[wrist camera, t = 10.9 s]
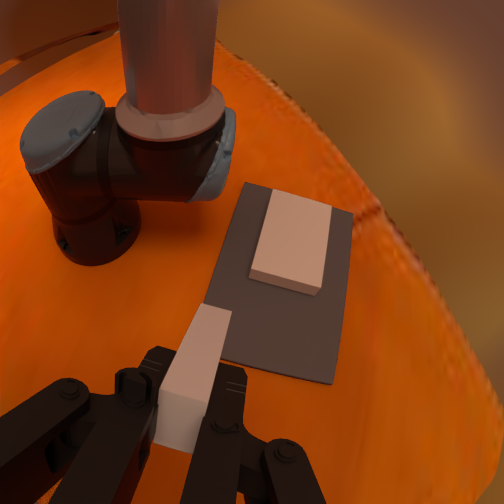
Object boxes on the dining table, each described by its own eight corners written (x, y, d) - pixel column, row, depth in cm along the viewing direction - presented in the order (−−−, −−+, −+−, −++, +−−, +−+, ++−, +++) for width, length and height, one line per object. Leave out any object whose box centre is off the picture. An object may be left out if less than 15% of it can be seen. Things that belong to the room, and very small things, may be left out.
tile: (320, 287, 44) (331, 206, 52) (251, 268, 44) (273, 188, 52) (313, 296, 47) (325, 217, 55) (248, 278, 47) (269, 201, 55)
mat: (330, 384, 42) (332, 384, 41) (189, 349, 42) (189, 348, 41) (351, 216, 57) (353, 213, 56) (244, 185, 57) (245, 181, 56)
